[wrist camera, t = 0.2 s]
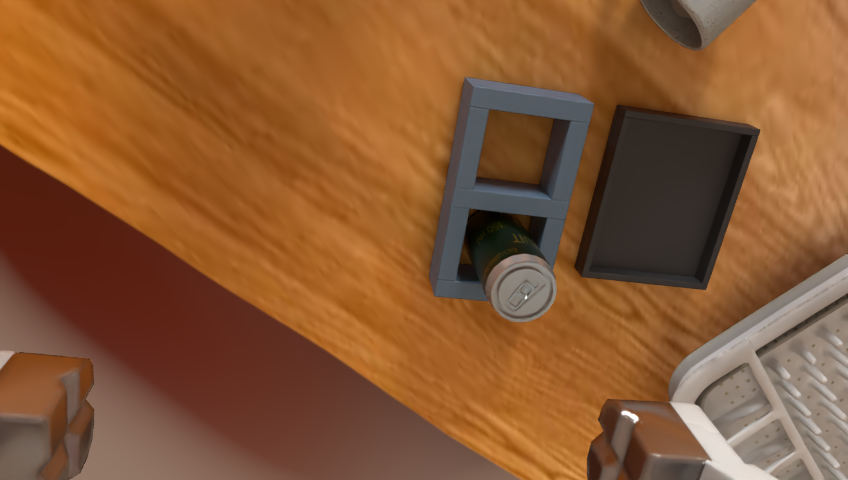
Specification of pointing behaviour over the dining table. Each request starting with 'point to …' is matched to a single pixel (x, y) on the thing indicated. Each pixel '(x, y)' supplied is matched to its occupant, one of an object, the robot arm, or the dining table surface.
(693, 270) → the tray
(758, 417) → the dish rack
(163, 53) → the dining table surface
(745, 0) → the ceramic mug
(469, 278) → the frame
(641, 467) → the robot arm
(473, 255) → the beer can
